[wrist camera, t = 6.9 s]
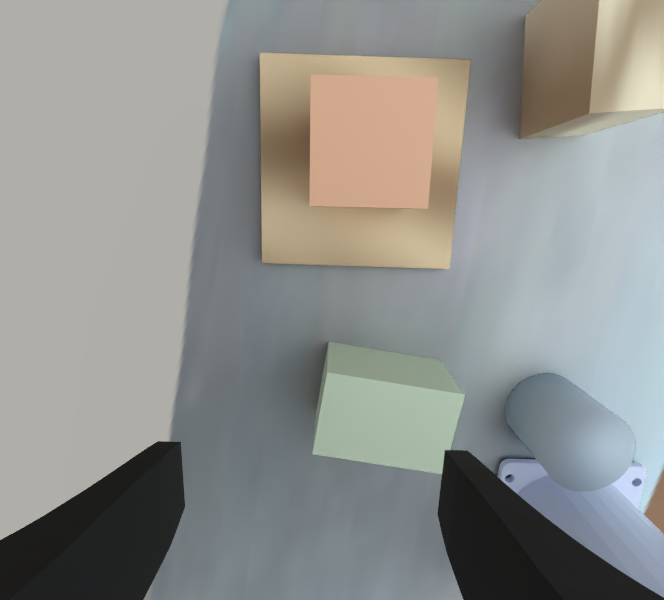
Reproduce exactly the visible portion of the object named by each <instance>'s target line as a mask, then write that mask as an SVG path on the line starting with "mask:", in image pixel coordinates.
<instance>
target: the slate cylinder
mask: <svg viewBox="0 0 664 600" xmlns="http://www.w3.org/2000/svg"><path fill="white" fill-rule="evenodd" d="M505 416H506V420H507V422H508V424H509V426H510V427H511V429H512V430H513V431H514V432H515V434H516V435H517V436H518V437H519V439H520V440H521V441H522V442H523V444H524V445H525V446H526V447H527V449H528V450H529V451H530V452H531V453H532V455H533V456H534V457H535V458H536V460H537V461H538V462H539V463H540V465H541V466H542V467H543V468H544V470H545V471H546V472H547V473H548V474H549V476H550V477H551V478H552V479H553V480H554V481H555V482H556V483H557V484H559V485H560V486H562V487H564V488H566V489H569V490H573V491H579V492H588V491H594V490H598V489H601V488H604V487H606V486H608V485H610V484H612V483H614V482H615V481H617V480H618V479H619V478H620V477H621V476H622V475H623V474H624V473H625V472H626V471H627V470H628V468H629V467H630V465H631V463H632V461H633V459H634V456H635V451H636V440H635V436H634V433H633V431H632V429H631V428H630V427H629V425H628V424H627V423H626V422H625V421H624V420H622V419H621V418H619V417H618V416H617V415H615V414H614V413H613V412H611V411H610V410H608V409H607V408H606V407H604V406H603V405H602V404H600V403H599V402H598V401H596V400H595V399H593V398H592V397H591V396H589V395H588V394H587V393H585V392H584V391H582V390H581V389H580V388H578V387H577V386H576V385H574V384H573V383H571V382H570V381H569V380H567V379H566V378H564V377H562V376H559V375H556V374H550V373H543V374H537V375H534V376H531V377H528V378H527V379H525V380H523V381H522V382H520V383H519V384H518V385H517V386H516V387H515V388H514V389H513V390H512V392H511V393H510V395H509V397H508V399H507V402H506V406H505Z"/></svg>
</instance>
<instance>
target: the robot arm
mask: <svg viewBox="0 0 664 600" xmlns="http://www.w3.org/2000/svg"><path fill="white" fill-rule="evenodd" d="M510 474H511V476H510V477H508V478H505V477H506V476H507V475H510ZM646 476H647V470H646V468H645V467H643V466H642V465H641V464H639V463H635V462H632V463H631V465H630V467H629V468H628V470H627V471H626V472H625V473H624V474H623V475H622V476H621V477H620V478H619V479H618V480H617V481H615V482H614V483H612V484H610V485H608V486H606V487H604V488H601V489H598V490H594V491H588V492H579V491H573V490H569V489H566V488H564V487H562V486H560V485H559V484H557V483H556V482H555V481H554V480H553V479H552V478H551V477H550V476H549V474H548V473H547V472H546V471H545V470H544V468H543V467H542V466H541V465H540V463H539V462H538V461H537V460H536V459H505V460H503V461H502V462H501V463H500V466H499V471H498V477H497V476H496V475H495V474H494V473H493V472H492V471H490V470H489V469H488V468H487V467H486V466H485V465H484V464H482V463H481V462H480V461H479V460H478V459H477V458H476V457H474V456H473V455H472V454H471V453H469V452H468V451H458V450H445V454H444V463H443V471H442V480H441V489H440V498H439V507H438V517H439V521H440V526H441V530H442V535H443V539H444V543H445V547H446V551H447V554H448V557H449V560H450V563H451V566H452V569H453V571H454V574H455V577H456V580H457V583H458V585H459V588H460V591H461V594H462V597H463V599H464V600H664V534H663V533H662V532H661V531H660V530H659V529H658V528H657V527H656V526H655V525H654V524H653V523H652V522H651V521H650V520H649V519H648V518H647V517H646V516H645V515H644V514H643V513H642V512H641V511H640V510H639V509H638V508H639V504H640V500H641V496H642V492H643V488H644V484H645V480H646ZM634 479H635V480H634ZM633 480H634V481H633ZM184 507H185V500H184V485H183V471H182V456H181V442H159V441H158V442H157V443H155V444H153V445H152V446H150V447H148V448H147V449H145V450H144V451H142V452H141V453H139V454H138V455H136V456H135V457H133V458H132V459H130V460H129V461H128V462H126V463H125V464H123V465H122V466H120V467H119V468H117V469H116V470H115V471H113V472H111V473H110V474H108V475H107V476H105V477H104V478H103V479H101V480H100V481H98V482H97V483H95V484H94V485H92V486H91V487H89V488H88V489H86V490H84V491H83V492H81V493H80V494H78V495H76V496H75V497H73V498H72V499H70V500H68V501H67V502H65V503H64V504H62V505H60V506H59V507H57V508H56V509H54V510H52V511H51V512H49V513H48V514H46V515H45V516H43V517H41V518H40V519H38V520H36V521H34V522H32V523H31V524H29V525H27V526H25V527H24V528H22V529H20V530H18V531H16V532H15V533H13V534H11V535H9V536H7V537H5V538H3V539H2V540H0V600H143V599H144V597H145V595H146V593H147V591H148V589H149V587H150V586H151V584H152V582H153V580H154V578H155V576H156V574H157V572H158V570H159V568H160V566H161V564H162V562H163V560H164V558H165V556H166V554H167V552H168V549H169V547H170V545H171V543H172V540H173V538H174V535H175V532H176V530H177V527H178V524H179V522H180V519H181V516H182V513H183V510H184Z"/></svg>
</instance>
